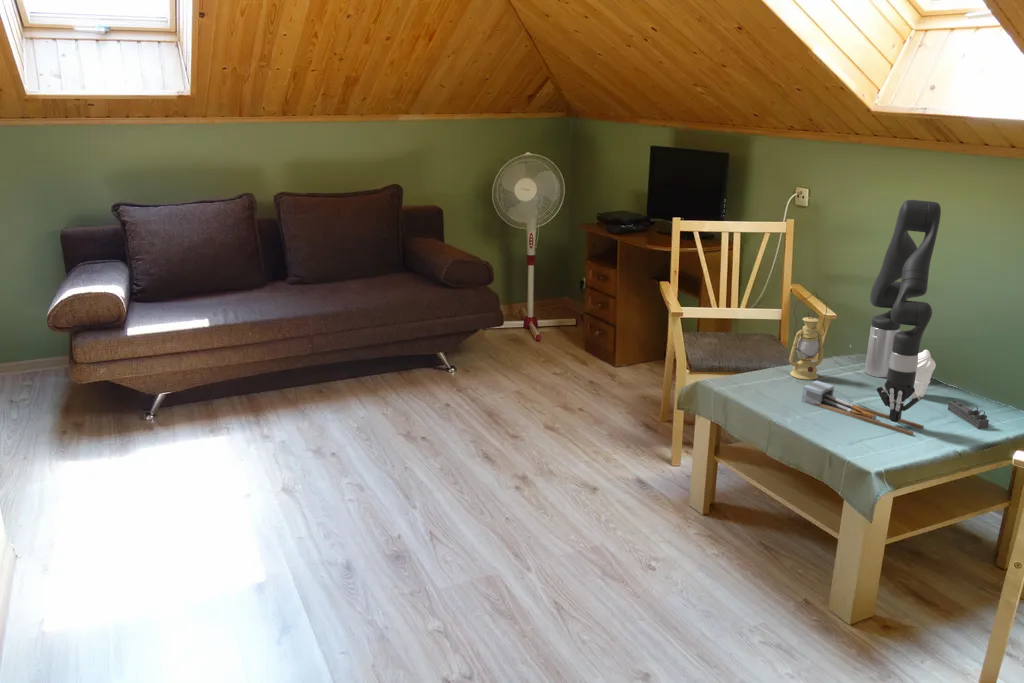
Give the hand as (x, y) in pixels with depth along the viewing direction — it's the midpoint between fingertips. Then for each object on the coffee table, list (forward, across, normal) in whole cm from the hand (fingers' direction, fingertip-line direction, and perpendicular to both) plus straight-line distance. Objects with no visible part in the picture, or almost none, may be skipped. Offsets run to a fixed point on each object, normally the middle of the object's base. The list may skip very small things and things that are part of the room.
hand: (894, 421), depth 246 cm
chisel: (+2, +15, 0) cm, 15 cm away
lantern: (+1, +40, -18) cm, 44 cm away
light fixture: (+2, -12, -22) cm, 25 cm away
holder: (+1, +11, 0) cm, 11 cm away
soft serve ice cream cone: (+2, +6, -29) cm, 30 cm away
